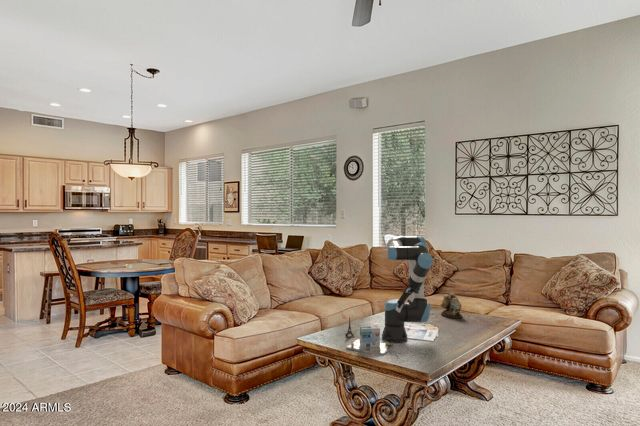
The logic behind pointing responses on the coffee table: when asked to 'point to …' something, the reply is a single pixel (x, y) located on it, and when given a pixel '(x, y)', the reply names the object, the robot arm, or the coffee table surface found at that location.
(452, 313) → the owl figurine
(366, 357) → the coffee table surface
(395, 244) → the robot arm
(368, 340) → the light bulb box
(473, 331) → the coffee table surface
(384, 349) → the plate
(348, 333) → the eiffel tower figurine
